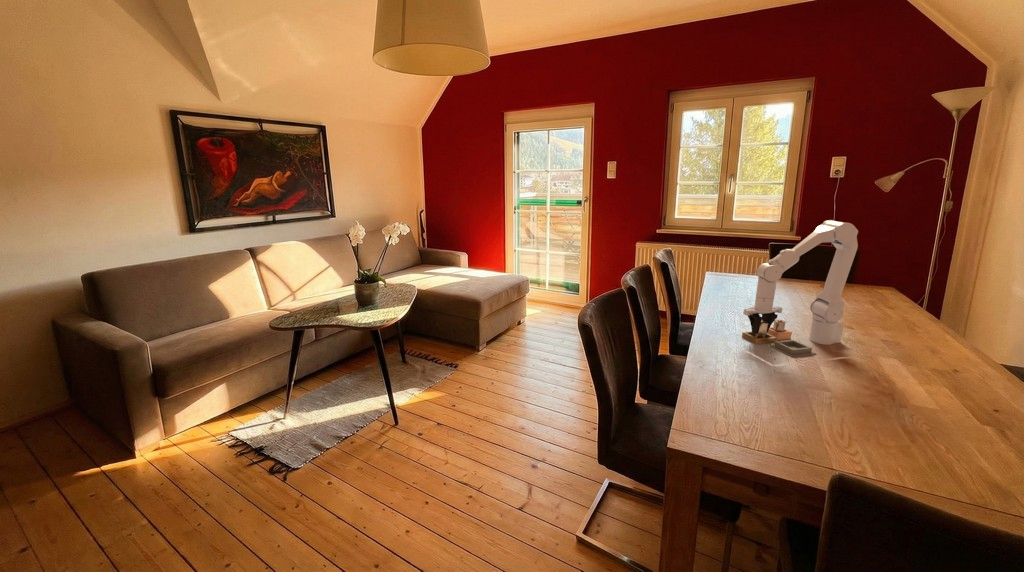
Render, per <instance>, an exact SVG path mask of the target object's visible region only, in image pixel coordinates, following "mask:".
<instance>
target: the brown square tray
mask: <svg viewBox="0 0 1024 572" xmlns="http://www.w3.org/2000/svg"><path fill="white" fill-rule="evenodd" d="M754 334H755V333H753V332H752V330H751V331H743V332H742V334H741V337H742V338H743V339H745V340H747V341H749V342H751V343H753V344H755V345H764V344H775V342H777V341H778V340H777V338H776V337H774V336H772V335H770V334H768V333H766V337H765V338H759V339H758V338H756V337H754Z"/></svg>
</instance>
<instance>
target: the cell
mask: <svg viewBox="0 0 1024 572" xmlns="http://www.w3.org/2000/svg"><path fill="white" fill-rule="evenodd" d="M767 327H768V322H766V321H763V320H762V321H761V323H760V326H759V331H758V334H754V337H756V338H758V339H759V338H765V337H766V332H767Z"/></svg>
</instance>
